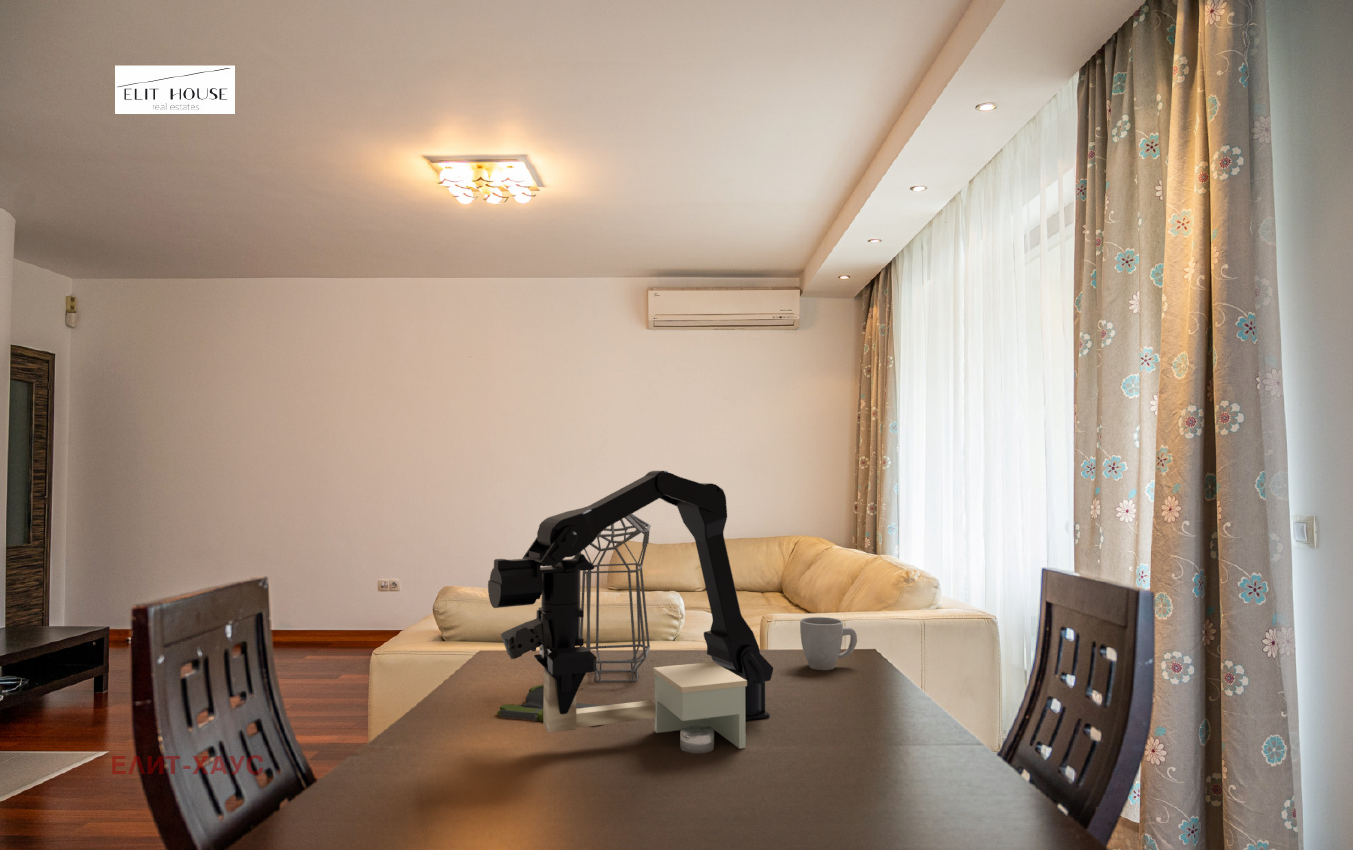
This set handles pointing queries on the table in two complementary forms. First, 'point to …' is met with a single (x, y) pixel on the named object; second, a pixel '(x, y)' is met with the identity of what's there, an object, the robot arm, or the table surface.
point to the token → (697, 739)
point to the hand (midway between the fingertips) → (560, 709)
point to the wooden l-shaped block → (589, 711)
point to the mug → (824, 641)
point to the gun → (532, 706)
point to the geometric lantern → (640, 527)
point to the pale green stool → (700, 699)
